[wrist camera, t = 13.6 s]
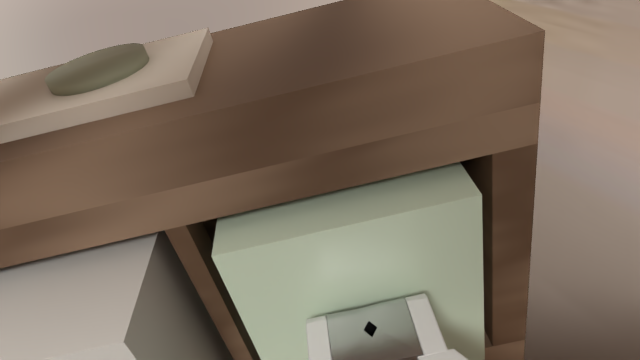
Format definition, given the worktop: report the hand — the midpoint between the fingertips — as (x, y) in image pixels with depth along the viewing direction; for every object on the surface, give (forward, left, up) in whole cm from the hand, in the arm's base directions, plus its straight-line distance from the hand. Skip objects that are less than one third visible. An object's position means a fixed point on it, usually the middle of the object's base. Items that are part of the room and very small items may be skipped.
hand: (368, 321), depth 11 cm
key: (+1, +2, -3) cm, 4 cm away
